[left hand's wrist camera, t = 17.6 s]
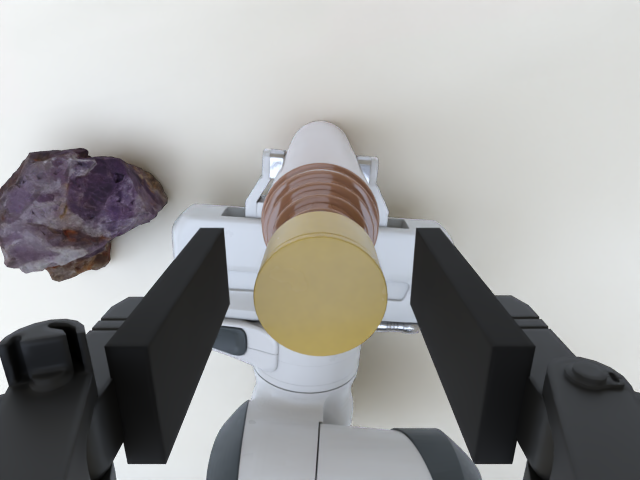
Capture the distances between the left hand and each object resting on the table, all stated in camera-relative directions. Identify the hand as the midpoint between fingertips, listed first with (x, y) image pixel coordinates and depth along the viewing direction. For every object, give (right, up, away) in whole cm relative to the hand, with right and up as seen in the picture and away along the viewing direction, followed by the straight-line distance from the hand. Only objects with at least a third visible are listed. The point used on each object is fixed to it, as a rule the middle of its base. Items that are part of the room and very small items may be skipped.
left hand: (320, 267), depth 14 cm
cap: (0, -1, -2) cm, 2 cm away
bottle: (0, +8, +23) cm, 24 cm away
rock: (-19, +5, +24) cm, 31 cm away
